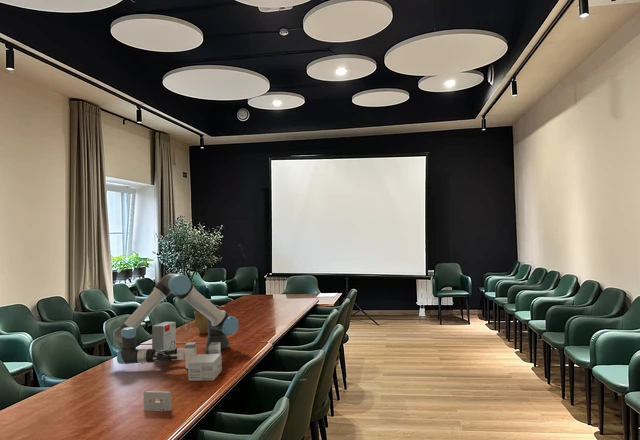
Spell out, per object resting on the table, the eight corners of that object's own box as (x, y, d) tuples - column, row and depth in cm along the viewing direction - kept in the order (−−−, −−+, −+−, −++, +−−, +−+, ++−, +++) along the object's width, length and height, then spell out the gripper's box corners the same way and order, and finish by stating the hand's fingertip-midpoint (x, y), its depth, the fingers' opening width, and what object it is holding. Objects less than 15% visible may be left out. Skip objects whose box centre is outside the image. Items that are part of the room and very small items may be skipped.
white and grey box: (185, 368, 262) (184, 344, 263) (187, 365, 268) (187, 342, 268) (202, 367, 263) (201, 344, 263) (203, 365, 268) (203, 341, 269)
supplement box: (198, 371, 257) (197, 353, 257) (222, 370, 256) (221, 353, 256) (187, 381, 240) (187, 362, 240) (213, 380, 239) (213, 361, 239)
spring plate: (204, 366, 262) (204, 351, 262) (207, 362, 270) (207, 348, 270) (207, 366, 262) (206, 351, 262) (209, 362, 270) (209, 348, 270)
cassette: (172, 409, 200) (171, 391, 200) (170, 411, 198) (169, 392, 198) (145, 409, 202) (145, 390, 202) (143, 410, 200) (142, 392, 200)
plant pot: (218, 331, 363) (218, 310, 364) (204, 335, 351) (203, 313, 351) (205, 329, 371) (204, 309, 372) (190, 333, 359) (189, 312, 359)
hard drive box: (163, 360, 282) (162, 326, 283) (151, 359, 284) (151, 326, 285) (176, 353, 298) (175, 321, 298) (165, 353, 299) (164, 321, 300)
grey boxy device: (201, 368, 260) (201, 346, 261) (204, 363, 271) (204, 342, 271) (218, 368, 261) (217, 346, 261) (220, 363, 271) (220, 341, 272)
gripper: (153, 356, 275) (190, 355, 277) (140, 368, 251) (181, 366, 252) (153, 343, 276) (190, 342, 277) (140, 354, 251) (181, 352, 252)
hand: (186, 353), depth 265 cm, fingers open, 13 cm apart
